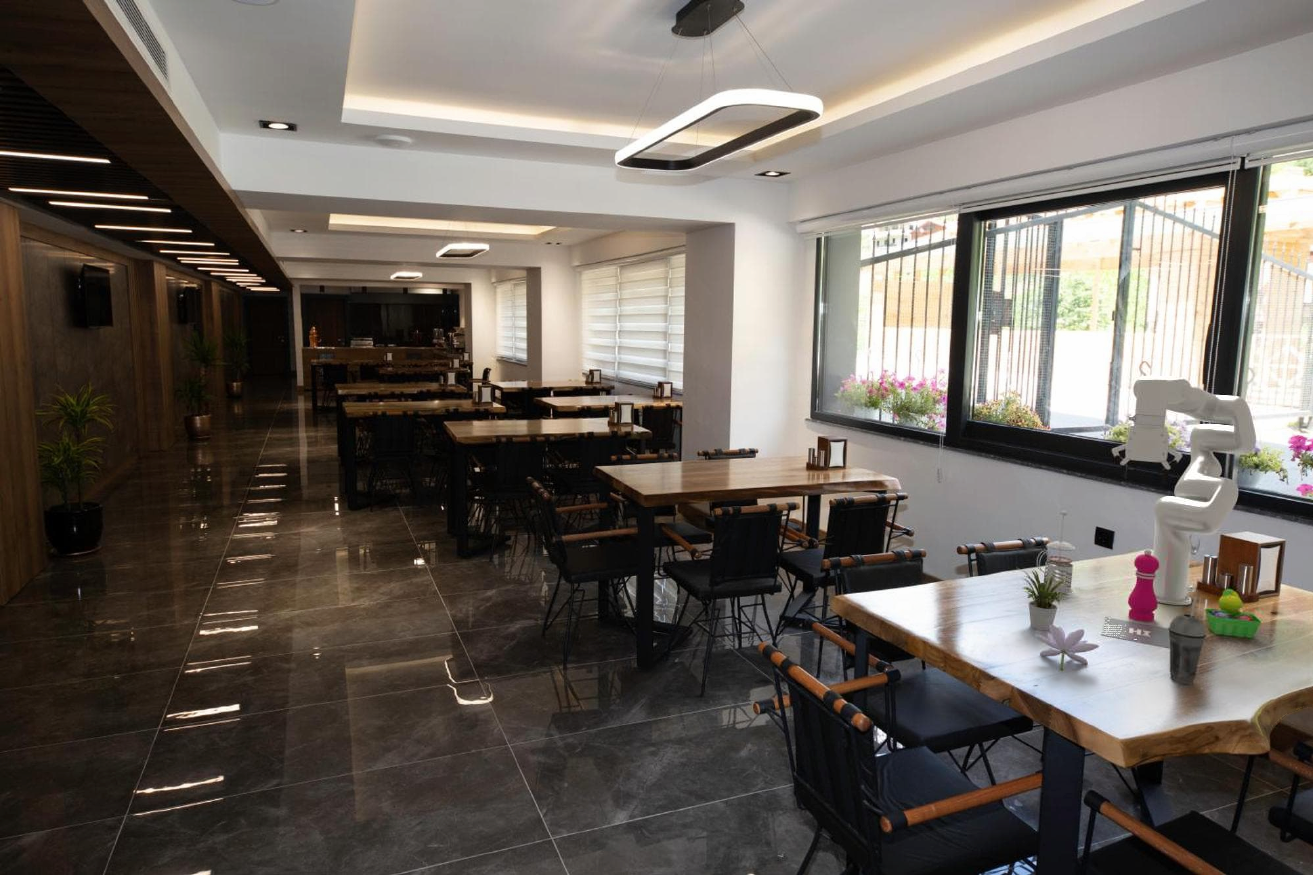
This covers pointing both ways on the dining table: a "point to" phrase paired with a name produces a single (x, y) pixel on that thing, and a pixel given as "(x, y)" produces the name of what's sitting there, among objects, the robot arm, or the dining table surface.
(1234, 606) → the fruit basket
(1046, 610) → the house plant
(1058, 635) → the water lily
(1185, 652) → the beverage cup
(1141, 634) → the tile
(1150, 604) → the pepper mill
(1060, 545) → the french press
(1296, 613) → the dining table surface
